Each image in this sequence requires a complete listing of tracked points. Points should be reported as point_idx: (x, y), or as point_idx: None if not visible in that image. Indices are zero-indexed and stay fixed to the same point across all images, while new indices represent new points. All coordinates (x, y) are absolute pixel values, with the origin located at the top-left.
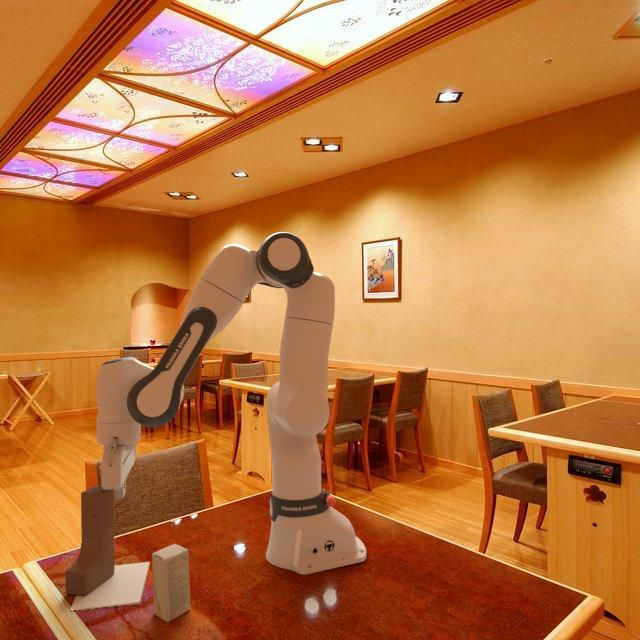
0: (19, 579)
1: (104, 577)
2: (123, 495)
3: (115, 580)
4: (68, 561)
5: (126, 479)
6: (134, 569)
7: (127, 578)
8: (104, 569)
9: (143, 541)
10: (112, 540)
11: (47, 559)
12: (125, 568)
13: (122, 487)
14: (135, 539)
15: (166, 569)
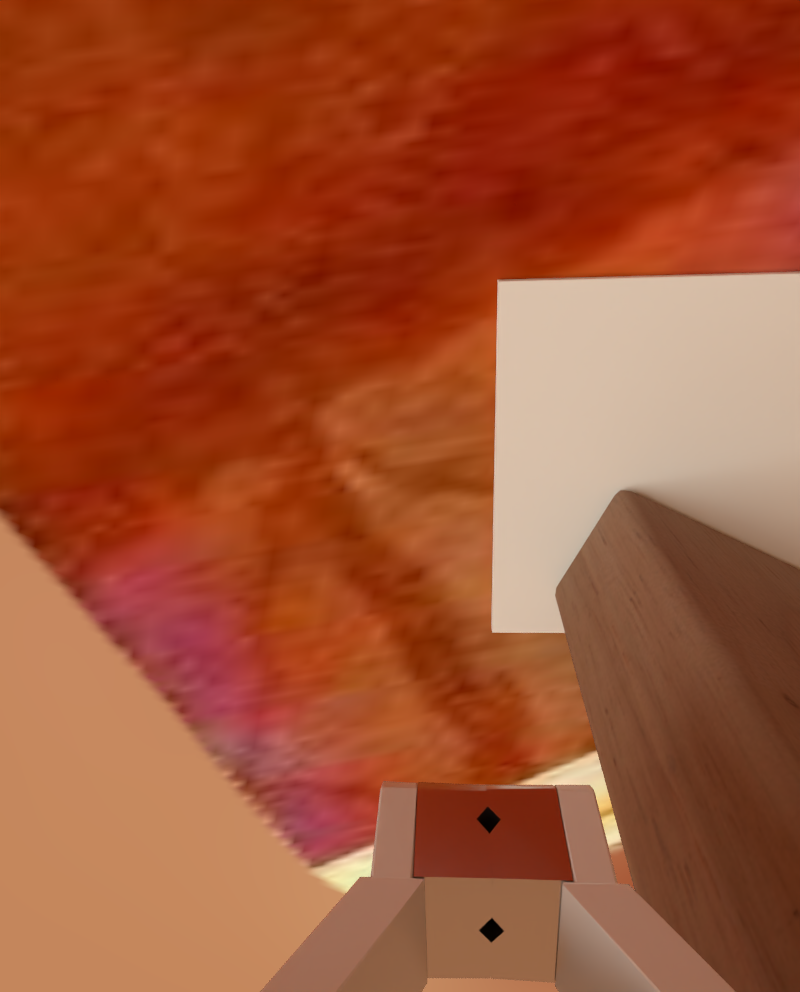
0: None
1: (717, 536)
2: (593, 811)
3: (709, 465)
4: (344, 745)
5: (284, 972)
6: (589, 372)
7: (707, 397)
8: (736, 559)
9: (113, 379)
10: (715, 608)
11: (300, 835)
12: (558, 432)
13: (695, 961)
14: (77, 439)
15: None
